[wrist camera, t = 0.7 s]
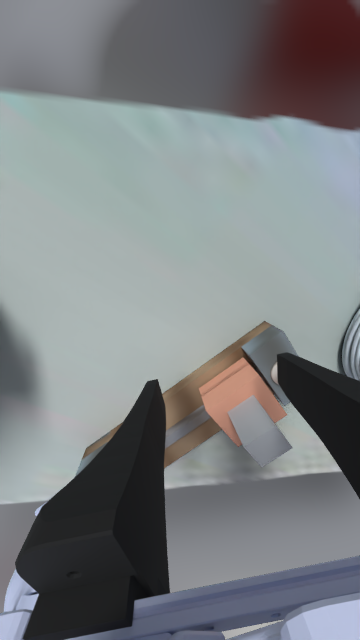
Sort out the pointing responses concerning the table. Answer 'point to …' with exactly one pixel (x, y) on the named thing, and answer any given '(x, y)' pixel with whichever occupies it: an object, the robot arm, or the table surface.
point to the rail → (186, 402)
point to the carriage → (246, 411)
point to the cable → (352, 349)
